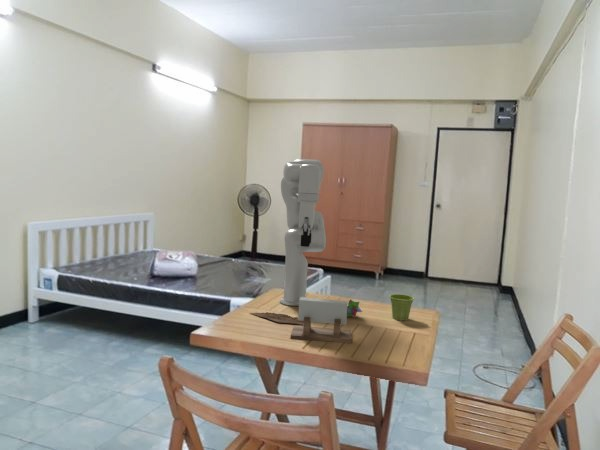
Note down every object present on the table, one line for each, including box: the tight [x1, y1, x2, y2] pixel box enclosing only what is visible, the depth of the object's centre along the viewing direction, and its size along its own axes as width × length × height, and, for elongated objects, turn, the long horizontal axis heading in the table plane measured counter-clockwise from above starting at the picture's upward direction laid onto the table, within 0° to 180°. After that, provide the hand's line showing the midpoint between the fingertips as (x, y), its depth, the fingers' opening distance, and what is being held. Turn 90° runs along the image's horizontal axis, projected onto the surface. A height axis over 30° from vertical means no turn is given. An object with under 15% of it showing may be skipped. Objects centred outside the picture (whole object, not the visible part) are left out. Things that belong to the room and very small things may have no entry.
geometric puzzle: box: [347, 299, 363, 320], centre depth 185 cm, size 7×7×8 cm
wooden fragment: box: [249, 311, 304, 326], centre depth 177 cm, size 26×11×1 cm, turn 60°
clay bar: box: [297, 297, 349, 326], centre depth 160 cm, size 4×16×7 cm, turn 83°
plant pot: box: [389, 293, 415, 321], centre depth 187 cm, size 9×9×9 cm
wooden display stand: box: [289, 317, 353, 344], centre depth 160 cm, size 11×20×7 cm, turn 85°
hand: (305, 244), depth 176 cm, fingers open, 9 cm apart
